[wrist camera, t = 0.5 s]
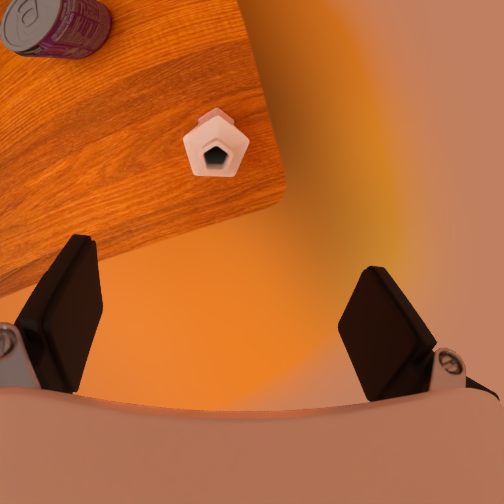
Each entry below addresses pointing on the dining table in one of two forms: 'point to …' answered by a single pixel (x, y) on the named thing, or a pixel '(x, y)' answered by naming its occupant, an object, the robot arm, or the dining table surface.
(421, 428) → the robot arm
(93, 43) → the beverage can
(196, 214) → the dining table surface
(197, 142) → the perfume bottle
